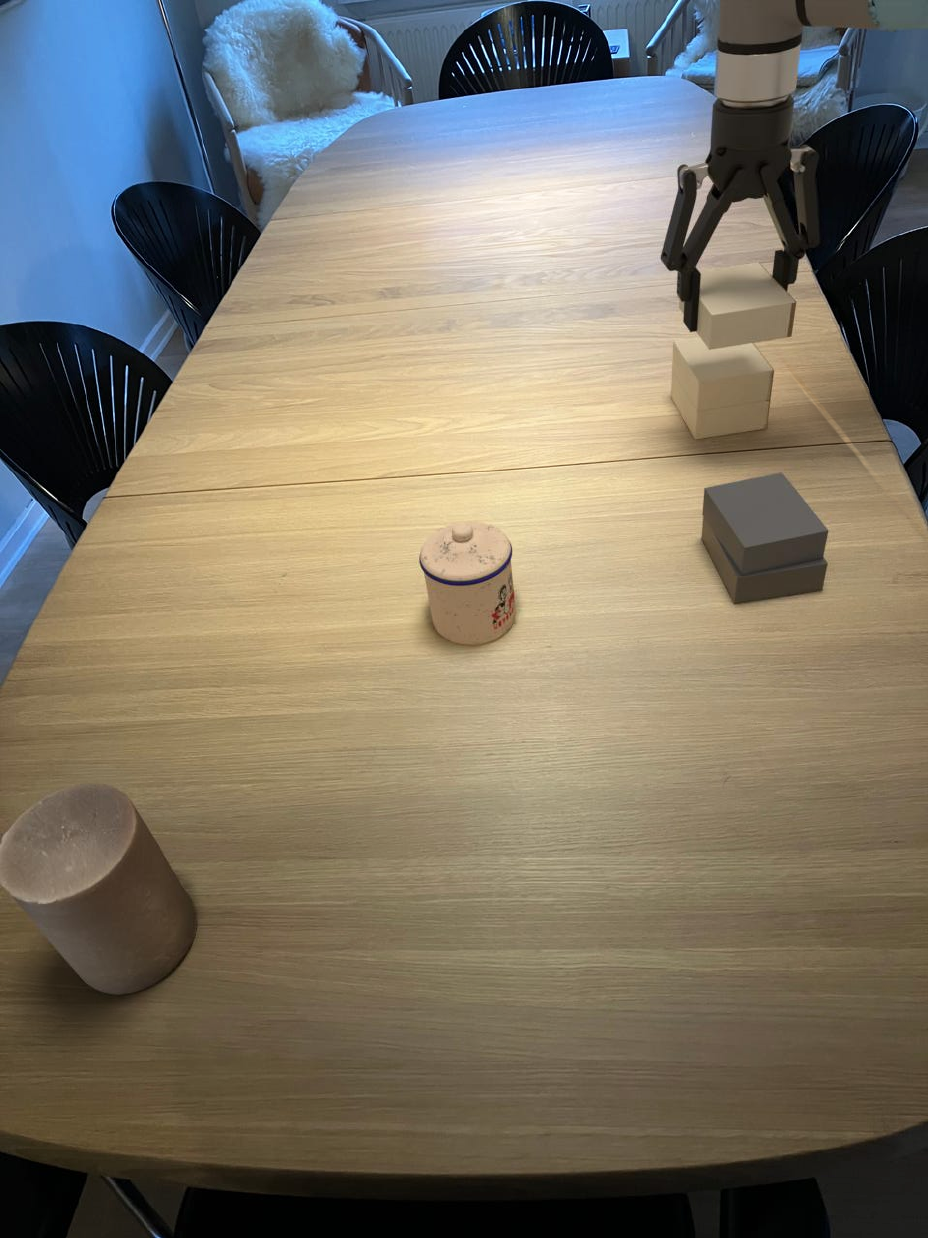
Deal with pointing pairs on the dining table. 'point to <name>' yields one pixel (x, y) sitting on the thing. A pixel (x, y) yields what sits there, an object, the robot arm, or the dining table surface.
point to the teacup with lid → (469, 582)
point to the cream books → (720, 387)
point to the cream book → (742, 307)
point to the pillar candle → (98, 887)
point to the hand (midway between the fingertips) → (733, 319)
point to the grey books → (763, 538)
